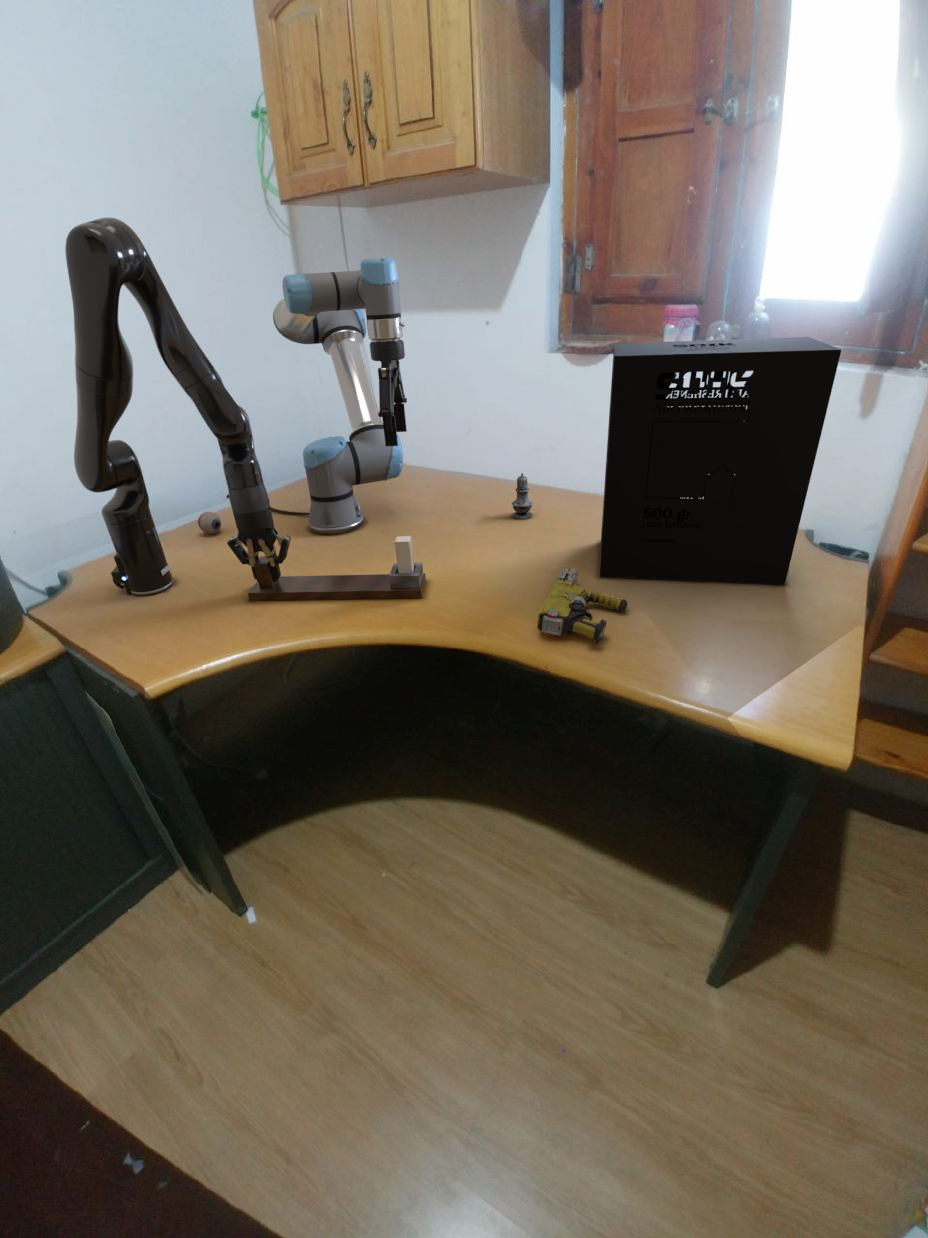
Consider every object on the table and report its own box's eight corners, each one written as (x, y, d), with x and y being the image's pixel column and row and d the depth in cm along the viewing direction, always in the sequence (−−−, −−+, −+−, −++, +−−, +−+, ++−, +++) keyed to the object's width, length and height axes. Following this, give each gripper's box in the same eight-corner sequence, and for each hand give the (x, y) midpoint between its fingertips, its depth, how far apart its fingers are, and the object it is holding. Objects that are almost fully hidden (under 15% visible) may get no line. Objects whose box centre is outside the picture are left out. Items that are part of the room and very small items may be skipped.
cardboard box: (763, 546, 142) (808, 336, 120) (784, 584, 125) (841, 349, 103) (600, 540, 150) (614, 343, 127) (599, 576, 133) (614, 355, 110)
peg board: (249, 601, 132) (241, 568, 128) (262, 584, 139) (254, 552, 135) (421, 598, 129) (418, 564, 125) (426, 581, 136) (422, 548, 132)
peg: (399, 584, 130) (394, 541, 125) (401, 578, 133) (397, 536, 128) (413, 584, 130) (408, 541, 125) (415, 578, 133) (410, 535, 128)
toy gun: (633, 576, 125) (562, 563, 129) (620, 630, 105) (537, 613, 109) (629, 596, 128) (560, 583, 132) (616, 653, 108) (534, 635, 111)
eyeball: (211, 538, 165) (205, 517, 162) (196, 534, 168) (190, 514, 165) (229, 530, 169) (223, 510, 166) (214, 527, 172) (209, 507, 169)
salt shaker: (531, 519, 165) (531, 476, 159) (510, 518, 166) (509, 476, 160) (533, 511, 170) (534, 469, 164) (513, 511, 171) (512, 469, 165)
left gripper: (210, 512, 122) (231, 588, 131) (277, 510, 121) (294, 587, 130) (225, 500, 129) (244, 573, 137) (289, 498, 127) (304, 572, 136)
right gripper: (393, 345, 121) (404, 451, 131) (411, 333, 142) (419, 425, 153) (357, 347, 121) (370, 452, 132) (379, 335, 143) (389, 426, 153)
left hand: (268, 579), depth 133 cm, fingers closed on peg board, 3 cm apart
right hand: (396, 438), depth 142 cm, fingers open, 13 cm apart
